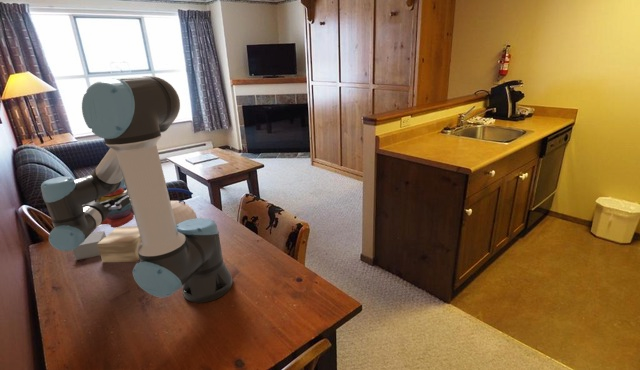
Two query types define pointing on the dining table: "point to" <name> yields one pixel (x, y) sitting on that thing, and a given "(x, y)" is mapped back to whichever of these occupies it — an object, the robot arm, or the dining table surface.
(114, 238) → the birch block
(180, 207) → the kettle
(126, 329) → the dining table surface
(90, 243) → the stoneware block
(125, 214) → the stacking bear
